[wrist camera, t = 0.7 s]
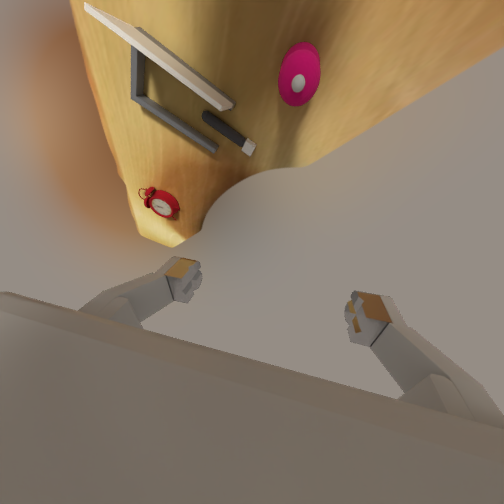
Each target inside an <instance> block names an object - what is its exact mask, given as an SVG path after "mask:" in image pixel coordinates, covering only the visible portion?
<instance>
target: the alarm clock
mask: <svg viewBox="0 0 504 504" xmlns="http://www.w3.org/2000/svg"><path fill="white" fill-rule="evenodd" d="M141 189H142V188H141ZM154 189H155V188H154V187H150V188H148V189H146V192H145V196H146V198H145V200H144V199H143V198H142V197H141V196H140V194H139V196H140V197H141V198H142V199H143V200H144V205H145V206H146V207H147V208H150V207H151V209H152V210H153V211H154V212H155V213H156V214H158V215H159V216H162V217H165V218H169V217H171V216H172V217H173V214H175V213H177V212H178V210H180V208H179V204H178V202H177V200H176V199H175V198H174V197H173V196H172V195H171V194H169V193H167V192H165V191H162V190H157V191H155V192H154V193H153V194H152V196H151V195H150V193H151V192H152V191H153V190H154ZM143 190H145V189H143ZM139 191H140V189H139ZM148 195H150V196H151V197H149V196H148ZM173 218H174V217H173ZM174 219H175V218H174ZM175 220H176V219H175Z"/></svg>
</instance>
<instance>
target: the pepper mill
mask: <svg viewBox="0 0 504 504" xmlns="http://www.w3.org/2000/svg"><path fill="white" fill-rule="evenodd" d="M320 72H321V71H320V58H319V54H318V52H317V50H316V48H315V47H314V46H313V45H312V44H310V43H308V42H300V43H297V44H295V45H294V46H292V47H291V48H290V49H289V50H288V52H287V53H286V55H285V57H284V59H283V61H282V65H281V70H280V73H279V78H278V88H279V92H280V95H281V97H282V99H283V100H284V101H285V102H286V103H287V104H288V105H290V106H301V105H303V104H305V103H307V102H308V101H309V100H310V99H311V98H312V97H313V95H314V94H315V92H316V90H317V88H318V85H319V82H320Z"/></svg>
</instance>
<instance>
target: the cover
mask: <svg viewBox="0 0 504 504" xmlns="http://www.w3.org/2000/svg"><path fill="white" fill-rule="evenodd" d="M84 6H85V11H87V12H88V13H89V14H91V15H92V16H93V17H95V18H96V19H98V20H99V21H100V22H102V23H103V24H104V25H106V26H107V27H108V28H110V29H111V30H112V31H114V32H115V33H116V34H118V35H119V36H120V37H122V38H123V39H124V40H126V41H127V42H128V43H130V44H131V45H132V46H134V47H135V48H136V49H138V50H139V51H140V52H142V53H143V54H144V55H146V56H147V57H148V58H150V59H151V60H153V61H154V62H155V63H157V64H158V65H159V66H161V67H162V68H163V69H165V70H166V71H167V72H169V73H170V74H171V75H173V76H174V77H175V78H177V79H178V80H179V81H181V82H182V83H183V84H185V85H186V86H187V87H189V88H190V89H191V90H193V91H194V92H195V93H197V94H198V95H199V96H201V97H202V98H203V99H205V100H206V101H208V102H209V103H210V104H212V105H213V106H214V107H216V108H217V109H218V110H220V111H223V110H227V109H230V108H232V106H233V104H232V103H231V102H230V101H228V100H227V99H226V98H225V97H223V96H222V95H221V94H219V93H218V92H217V91H216V90H214V89H213V88H212V87H210V86H209V85H208V84H206V83H205V82H204V81H203V80H201V79H200V78H199V77H197V76H196V75H195V74H194V73H192V72H191V71H190V70H188V69H187V68H186V67H185V66H183V65H182V64H181V63H179V62H178V61H177V60H176V59H174V58H173V57H172V56H170V55H169V54H168V53H167V52H165V51H164V50H163V49H161V48H160V47H159V46H157V45H156V44H155V43H154V42H152V41H151V40H150V39H148V38H147V37H146V36H145V35H143V34H142V33H141V32H139V31H138V30H137V29H136V28H134V27H133V26H132V25H130V24H128V23H126V22H124V21H122V20H120V19H118V18H116V17H114V16H112V15H110V14H108V13H106V12H104V11H102V10H100V9H98V8H96V7H94V6H92V5H90V4H88V3H86V2H84Z"/></svg>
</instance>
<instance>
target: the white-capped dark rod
mask: <svg viewBox="0 0 504 504" xmlns="http://www.w3.org/2000/svg"><path fill="white" fill-rule="evenodd" d="M202 119H203V121H204V122H206V123H207V124H209V125H210V126H211V127H213V128H214V129H216V130H217V131H219V132H220V133H221V134H223V135H224V136H226V137H227V138H228V139H230V140H231V141H233V142H234V143H236V144H237V145H238V146H240V147H243V148H242V151H243V152H244V153H246V154H247V155H249V156H251V154H252V152H253V151H254V149H255V147H256V145H257V144H256V143H254V142H253V141H252V140H250V139H249V138H247V140H245V138H244V137H243V136H242V135H240V134H239V133H237V132H236V131H235V130H233V129H232V128H231V127H229V126H228V125H227V124H225V123H224V122H222V121H221V120H220V119H218V118H217V117H216V116H214V115H213V114H211V113H210V112H209V111H203V113H202Z"/></svg>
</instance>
